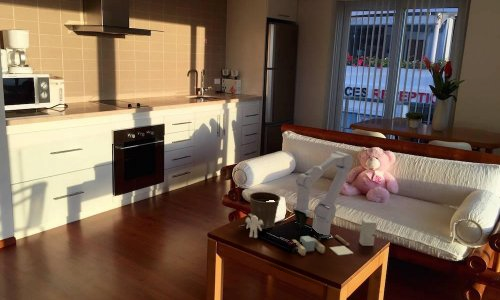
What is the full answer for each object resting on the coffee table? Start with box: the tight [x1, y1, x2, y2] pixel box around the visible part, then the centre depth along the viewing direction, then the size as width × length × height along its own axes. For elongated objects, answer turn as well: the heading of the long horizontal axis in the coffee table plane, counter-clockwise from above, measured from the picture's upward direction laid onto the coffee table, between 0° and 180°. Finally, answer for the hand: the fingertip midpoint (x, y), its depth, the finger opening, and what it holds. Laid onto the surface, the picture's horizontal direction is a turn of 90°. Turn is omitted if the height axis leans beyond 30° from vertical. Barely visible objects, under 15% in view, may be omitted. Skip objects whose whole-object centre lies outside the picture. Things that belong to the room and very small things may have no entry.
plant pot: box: [248, 191, 281, 230], centre depth 233 cm, size 16×16×16 cm
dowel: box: [334, 234, 350, 247], centre depth 220 cm, size 12×2×2 cm, turn 21°
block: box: [299, 235, 315, 253], centre depth 210 cm, size 6×4×5 cm
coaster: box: [329, 245, 354, 256], centre depth 210 cm, size 8×8×1 cm
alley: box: [291, 236, 326, 256], centre depth 210 cm, size 11×12×3 cm
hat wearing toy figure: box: [245, 213, 263, 239], centre depth 219 cm, size 9×4×12 cm, turn 74°
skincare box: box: [358, 219, 377, 247], centre depth 219 cm, size 6×4×12 cm
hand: (300, 225), depth 216 cm, fingers open, 3 cm apart
